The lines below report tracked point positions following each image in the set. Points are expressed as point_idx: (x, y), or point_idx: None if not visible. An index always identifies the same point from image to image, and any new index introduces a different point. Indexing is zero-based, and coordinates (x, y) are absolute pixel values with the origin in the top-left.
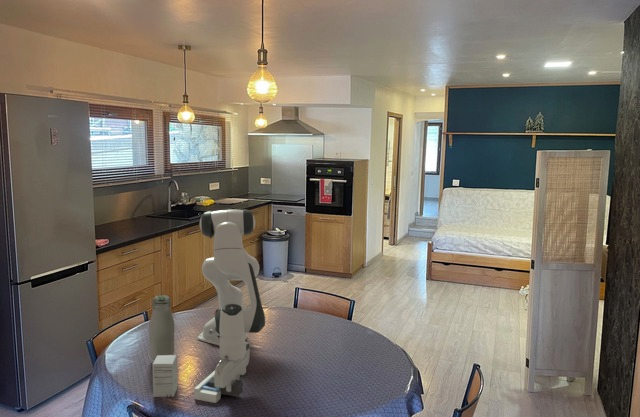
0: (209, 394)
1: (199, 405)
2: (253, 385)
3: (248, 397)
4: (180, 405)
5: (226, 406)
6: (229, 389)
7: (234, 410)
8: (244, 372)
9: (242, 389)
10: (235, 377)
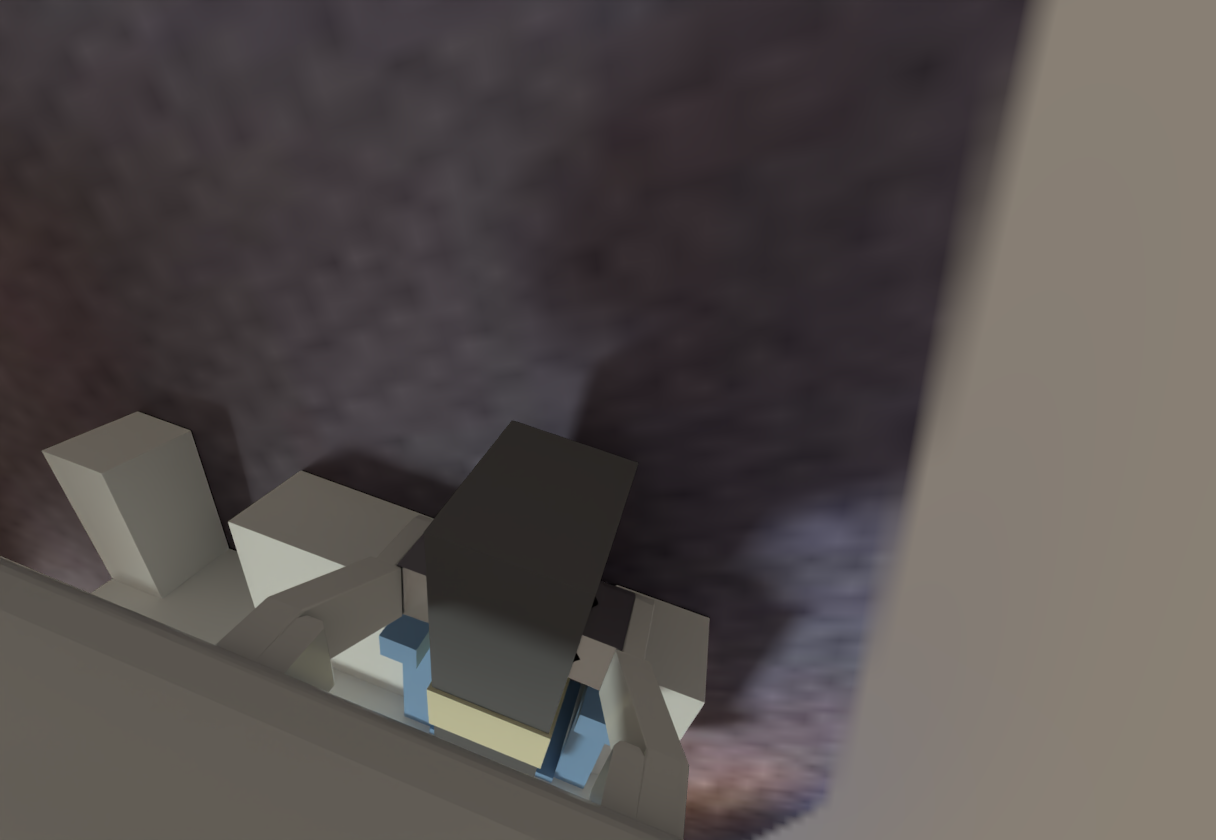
0: (680, 732)
1: (744, 711)
2: (296, 299)
3: (564, 319)
4: (738, 791)
5: (780, 536)
6: (644, 635)
7: (893, 452)
8: (149, 429)
9: (504, 437)
10: (374, 616)
